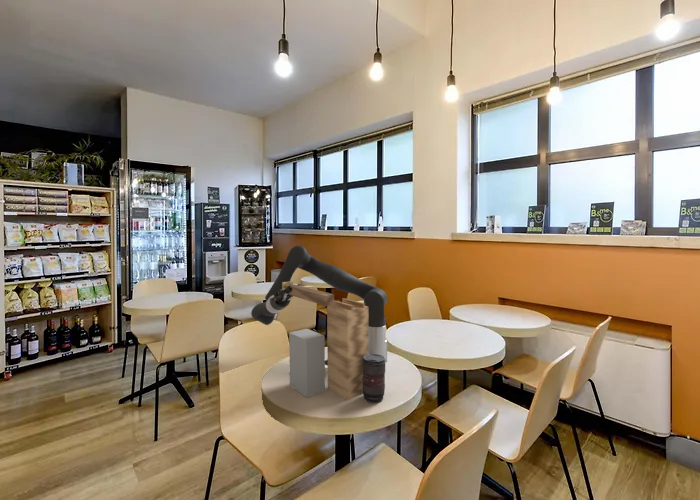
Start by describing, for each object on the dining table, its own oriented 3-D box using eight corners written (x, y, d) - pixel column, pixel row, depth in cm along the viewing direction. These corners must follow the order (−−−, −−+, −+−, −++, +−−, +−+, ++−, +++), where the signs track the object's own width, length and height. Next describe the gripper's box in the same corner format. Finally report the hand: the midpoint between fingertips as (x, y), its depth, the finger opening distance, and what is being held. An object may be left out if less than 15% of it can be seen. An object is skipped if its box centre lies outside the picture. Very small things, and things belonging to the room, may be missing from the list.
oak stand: (348, 380, 137) (347, 297, 135) (368, 391, 128) (368, 302, 126) (327, 388, 131) (327, 301, 129) (347, 400, 121) (347, 306, 119)
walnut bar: (290, 291, 141) (290, 280, 141) (335, 304, 118) (335, 291, 118) (281, 292, 139) (281, 282, 138) (324, 306, 116) (324, 293, 115)
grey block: (307, 380, 138) (306, 328, 136) (325, 390, 129) (324, 335, 127) (289, 385, 133) (289, 332, 131) (306, 397, 123) (306, 340, 122)
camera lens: (384, 405, 118) (384, 362, 117) (360, 402, 120) (360, 360, 119) (386, 394, 126) (386, 354, 125) (364, 392, 127) (364, 352, 127)
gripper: (260, 295, 143) (276, 279, 131) (290, 291, 152) (308, 276, 140) (264, 313, 140) (281, 298, 128) (294, 307, 149) (313, 293, 137)
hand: (295, 286), depth 134 cm, fingers closed on walnut bar, 3 cm apart
